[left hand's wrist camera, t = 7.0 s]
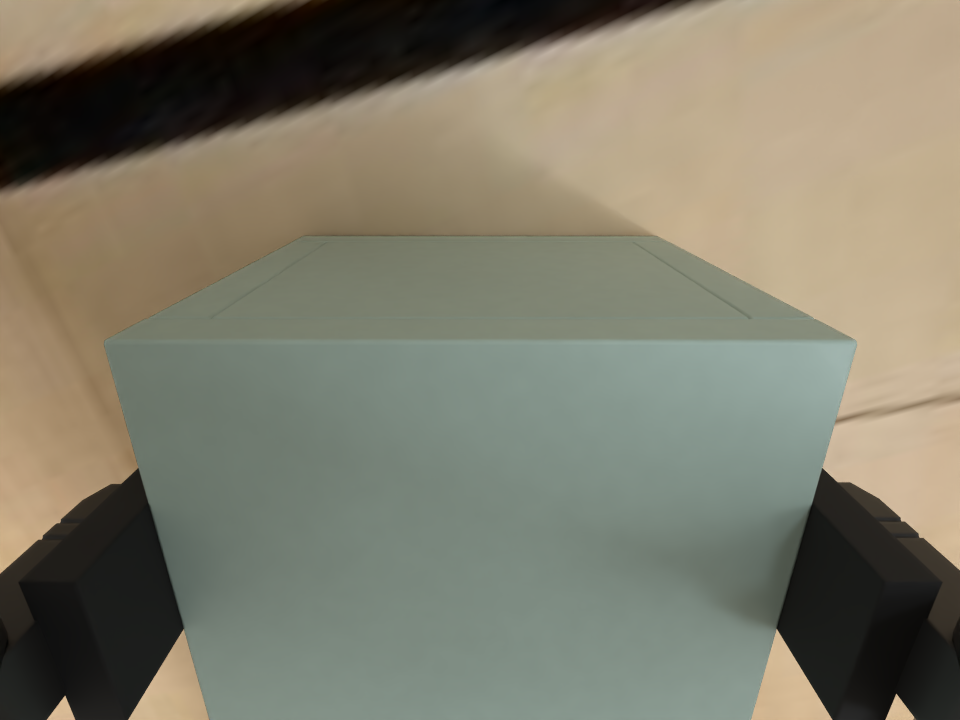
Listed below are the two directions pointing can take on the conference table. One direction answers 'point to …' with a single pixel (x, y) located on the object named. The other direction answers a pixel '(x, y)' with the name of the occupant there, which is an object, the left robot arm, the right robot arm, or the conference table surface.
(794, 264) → the conference table surface
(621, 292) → the cabinet
